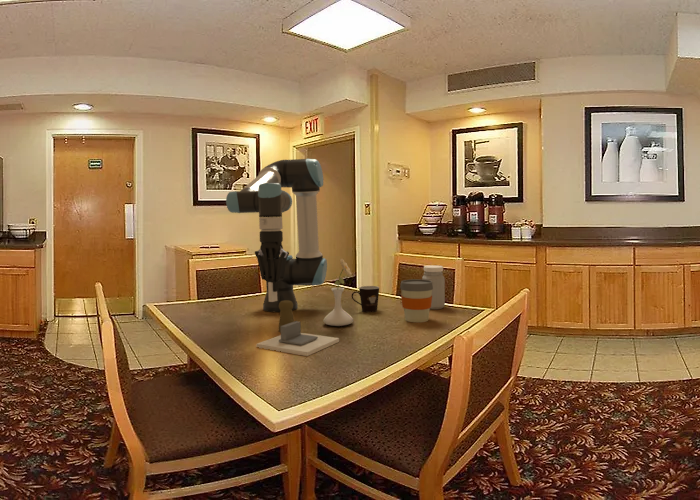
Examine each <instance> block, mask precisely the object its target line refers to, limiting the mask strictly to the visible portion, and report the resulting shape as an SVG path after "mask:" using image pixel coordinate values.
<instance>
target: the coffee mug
mask: <svg viewBox="0 0 700 500" xmlns="http://www.w3.org/2000/svg"><path fill="white" fill-rule="evenodd" d="M358 289H359V291H357V290H356V291H353V292H352V294H351V299H352V300H353V301H354V302H355V303H357V304H358V305H360V306H361V311H362V312H363V313H375V312H378V306H379V294H380V286H377V285H364V286H360V287H358ZM355 293H357V294H358V295H359V296H360V297H359V298H360V302H359V301H358V300H356V299H355V298H354V294H355Z"/></svg>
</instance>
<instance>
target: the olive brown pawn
mask: <svg viewBox="0 0 700 500" xmlns="http://www.w3.org/2000/svg"><path fill="white" fill-rule="evenodd" d="M279 309H280V312H279V322H278V323H279V324H278V333H281V326H283V325H286V324H289V323H292V322H295V321H294V314H293V310H292V309H293V303H292V301H289V300H284V301H281V302H280V303H279Z"/></svg>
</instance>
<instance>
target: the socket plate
mask: <svg viewBox="0 0 700 500" xmlns="http://www.w3.org/2000/svg"><path fill="white" fill-rule="evenodd" d="M301 334H302V335H309V336H316V337H318V339H315V340H313V341H310V342H308V343H305V344H303V345H297V344H290V343H284V342H279V340H280V339H281V334H279V335H277V336H275V337H272V338H269V339H266V340H263V341H260V342H257V343H256V344H255V345H256V346H255V347H256V348H257V347H259V348H258V349H262V348H264V349H263V350H268V349H270V350H269V351H274V350H276V351H275V352H280V351H281V353H285V354H287V353H288V354H293V355H299V356H304V357H309V356H312V355H313V354H316V353H317V352H319V351H322V350H324V349H326V348H328V347H331V346H333V345H335V344H337V343H339V342H340V337H333V336H326V335H320V334H312V333H305V332H301Z"/></svg>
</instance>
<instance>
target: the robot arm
mask: <svg viewBox="0 0 700 500" xmlns="http://www.w3.org/2000/svg"><path fill="white" fill-rule="evenodd" d="M323 186H324V172H323V169H322V165H321V163H320V162H319V160H318V159H316V158H300V159H297V158H296V159H281V160H280V159H279V160H277V161H274V162H272V163H269V164H267V165H266V166H265V167H263V168H262V169H261V170H260V171H259V172H258V175H257V176H256V177H255V178H254V179H253V180H251V181H250V182H249V183H248V184H247V185H245V187H243V188H242V189H241V190H240V191H238V190H235V191H229V192H228V193H227V195H226V199H225V204H226V205H225V206H226V208H227V211H229V212H230V213H233V214H234V213H235V214H246V213H247V214H249V213H253V214H254V213H255V214H256V213H258V219H259V220H258V221H259V222H258V223H259V225H258V226H259V230H260V231H259V242H260V247H259V249H258V250H256V251H254V254H255V257H256V259H257V263H258V264H257V265H258V268H259V272H260V279H261V280H264V281H265V283H266V285H265V287H266V293H265V297H264V300H263V304H262V309H263V311H265V312H271V313H280V309H279V303H280V302H281V301H284V300H289V301H292V303H293V309H292V311H295V310H297V309H299V308H298V301H297V297H296V295H295V292H294V286H321V285H322V284H324V282H325V281H326V277H327V271H328V269H327V268H328V260H327V259H326V258H325V257H323V256H324V255H323V253H322V252H321V251H320V249H319V248H320V245H319V224H318V223H319V222H318V202H317V195H318V194H319V193H320V188H322V187H323ZM282 188H288V189H289V188H291V193H293V194H294V195H295V200H296V203H295V205H296V215H297V216H296V221H297V223H296V225H297V239H298V252H297V253H296V254H295V258H293V255H292V254H290V251H286V250H284V247H283V244H282V243H283V241H284V239H283V237H284V236H283V230H282V229H283V227H284V226H283V213H285V212H287V211H289V210H290V209H291V208H292V205H293V199H292V196H291V195H290V193H288V192H287V191H285V190H282Z"/></svg>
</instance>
